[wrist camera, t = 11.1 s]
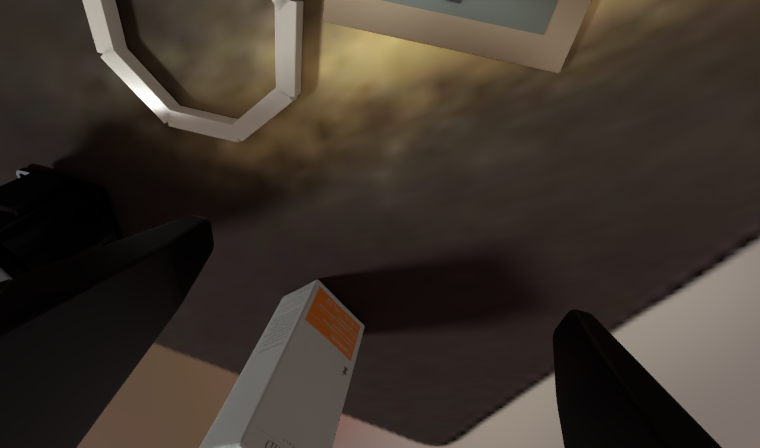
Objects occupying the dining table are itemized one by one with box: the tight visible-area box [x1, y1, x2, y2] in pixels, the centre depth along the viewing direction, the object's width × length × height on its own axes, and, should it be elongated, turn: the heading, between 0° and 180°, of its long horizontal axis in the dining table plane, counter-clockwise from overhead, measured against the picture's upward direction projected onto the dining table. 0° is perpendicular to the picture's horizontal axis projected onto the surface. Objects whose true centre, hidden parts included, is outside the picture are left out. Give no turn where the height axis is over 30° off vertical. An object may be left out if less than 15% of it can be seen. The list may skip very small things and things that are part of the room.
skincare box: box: [199, 280, 365, 448], centre depth 24 cm, size 6×4×12 cm
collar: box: [83, 0, 304, 143], centre depth 17 cm, size 11×11×1 cm
